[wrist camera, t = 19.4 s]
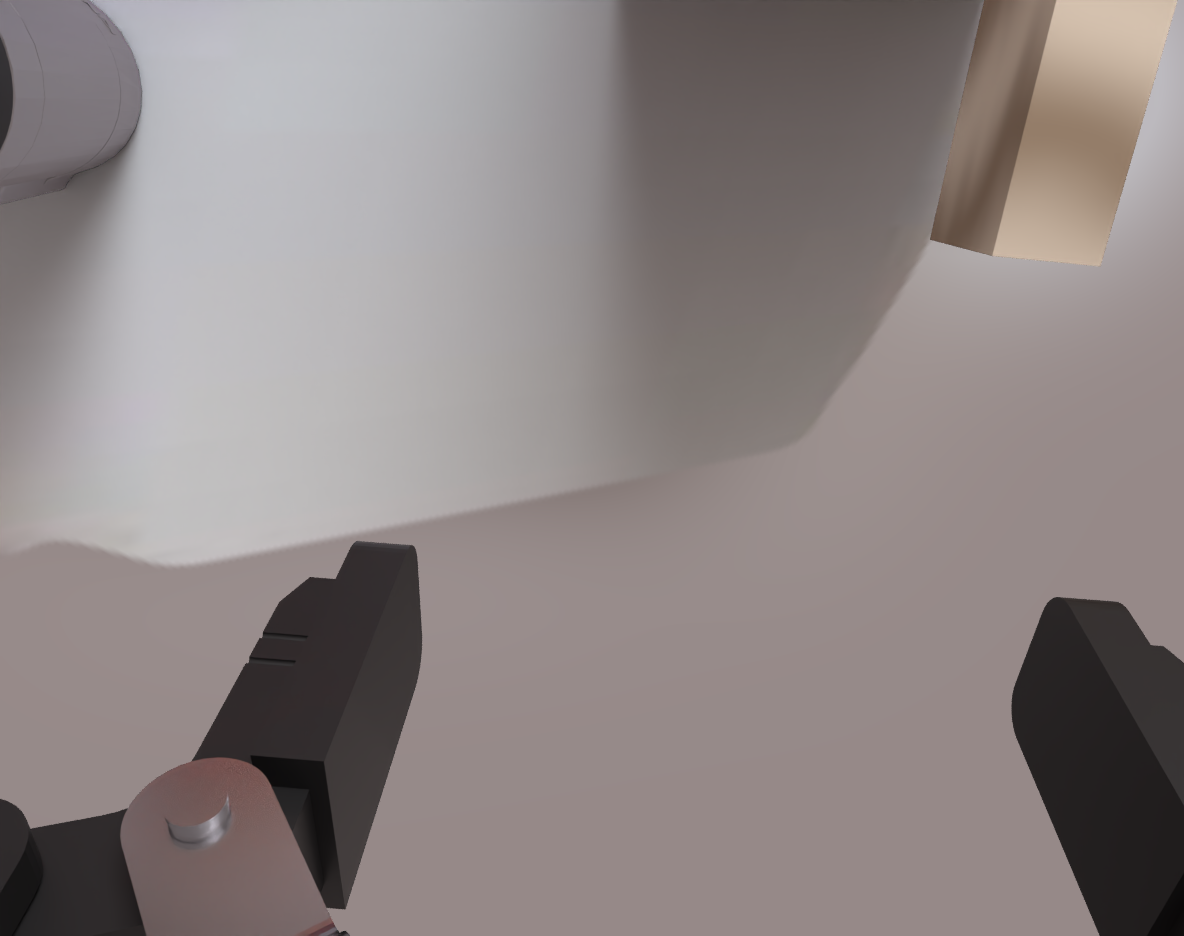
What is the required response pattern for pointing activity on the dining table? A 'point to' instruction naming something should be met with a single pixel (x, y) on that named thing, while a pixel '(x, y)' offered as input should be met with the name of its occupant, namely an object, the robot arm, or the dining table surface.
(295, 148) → the dining table surface
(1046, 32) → the tan square bar
